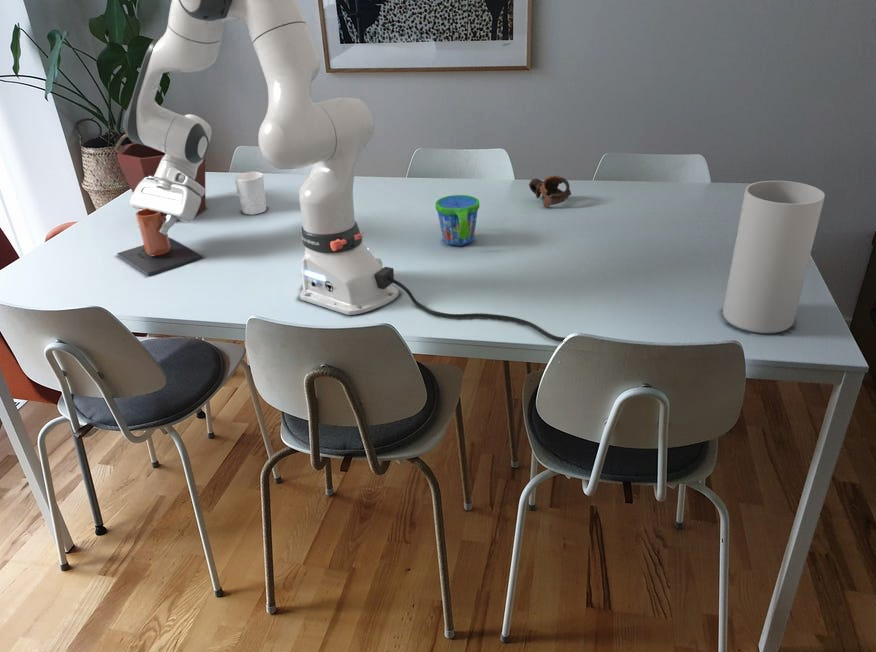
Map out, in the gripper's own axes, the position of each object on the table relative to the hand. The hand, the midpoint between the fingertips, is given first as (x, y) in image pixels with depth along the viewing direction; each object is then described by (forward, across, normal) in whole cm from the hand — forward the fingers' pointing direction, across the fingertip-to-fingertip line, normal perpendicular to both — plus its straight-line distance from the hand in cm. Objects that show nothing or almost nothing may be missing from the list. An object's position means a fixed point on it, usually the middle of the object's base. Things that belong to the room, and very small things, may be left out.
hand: (151, 231), depth 178 cm
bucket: (-13, -23, +23) cm, 35 cm away
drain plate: (+5, 0, +6) cm, 7 cm away
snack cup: (-24, +61, +35) cm, 75 cm away
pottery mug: (-49, +70, +60) cm, 104 cm away
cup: (+3, 0, +4) cm, 5 cm away
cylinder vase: (-18, +133, +29) cm, 137 cm away
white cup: (-20, -2, +31) cm, 37 cm away
